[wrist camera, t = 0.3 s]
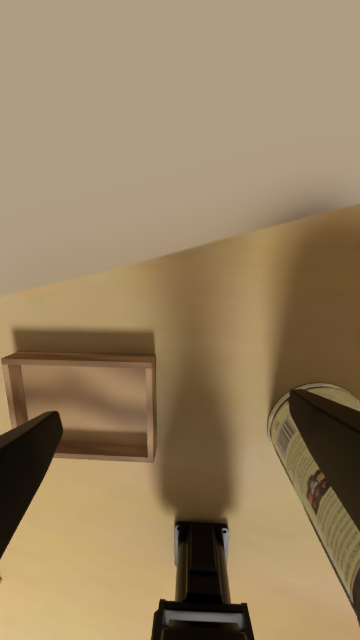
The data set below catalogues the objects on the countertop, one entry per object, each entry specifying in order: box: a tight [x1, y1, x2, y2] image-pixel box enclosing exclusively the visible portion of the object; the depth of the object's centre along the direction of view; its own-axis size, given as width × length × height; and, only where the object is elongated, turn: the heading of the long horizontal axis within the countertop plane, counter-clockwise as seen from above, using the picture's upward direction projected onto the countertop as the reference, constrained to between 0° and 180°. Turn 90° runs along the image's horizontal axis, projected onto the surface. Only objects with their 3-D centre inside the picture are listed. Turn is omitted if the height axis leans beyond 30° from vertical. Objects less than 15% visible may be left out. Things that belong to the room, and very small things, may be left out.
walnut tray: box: [1, 352, 157, 463], centre depth 24 cm, size 11×15×2 cm
